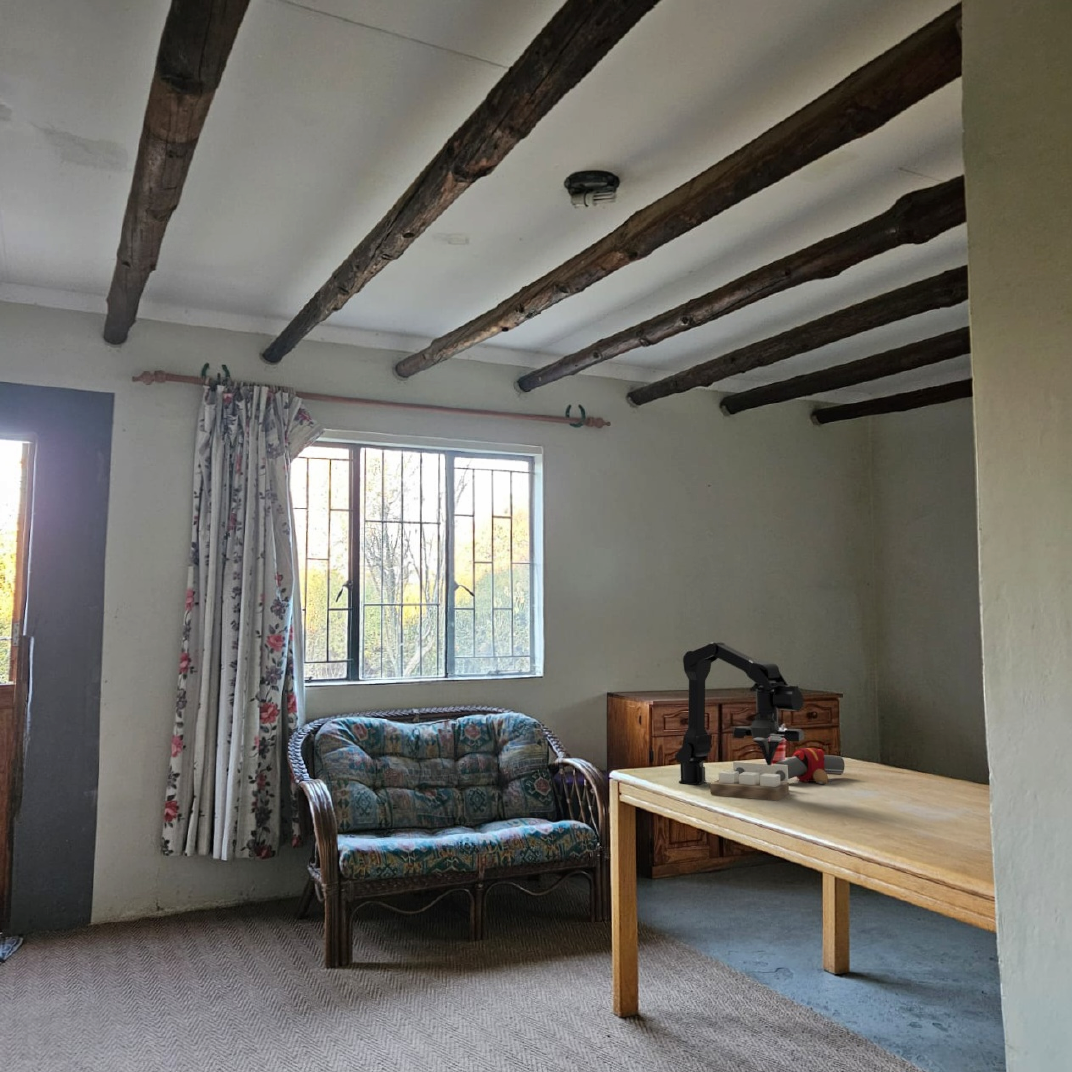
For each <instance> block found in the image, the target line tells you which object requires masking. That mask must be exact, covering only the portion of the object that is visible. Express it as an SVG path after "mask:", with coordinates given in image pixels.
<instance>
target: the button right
mask: <svg viewBox="0 0 1072 1072" xmlns="http://www.w3.org/2000/svg"><path fill="white" fill-rule="evenodd" d="M779 785H781V783H780V775H779V774H763V775H761V776H760V786H770V787H778V786H779Z"/></svg>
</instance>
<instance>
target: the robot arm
mask: <svg viewBox="0 0 1072 1072" xmlns="http://www.w3.org/2000/svg"><path fill="white" fill-rule="evenodd" d="M718 659H719V660H721V661H723V662H725V663H727V664H729V665H731V666H732V667H734V668H737V669H738V670H740V671H742V672H744V674H746V676H747V677H748V678H749V679H750V680H751V681H752V682H754V684H753V686H751V687H750V688H748V689H749V692H752V693H755V698H756V699H755V700H756V701H755V702H756V712H755V718H754V721H752V722H751V725H750V726H749V725H747V726H745V725H740V726H736V727H734V728H733V730H732V738H733V739H745V738H746V737H752V738H753V739H752V742H753V743H756V744H757V745H758V747H759V748H760V750H761V752H762V755H763V758H764V759H765V764H767V765H771V764H773V761H774V758H775V755H776V752H777V749H778V747H779V745H780V743H783V742H784V741H785V740H786V741H787V742H798V743H799V742H801V741H804V740H805V732H804V731H803V729H801V728H787V729H785V730H780V725H779V715H780V713H779V711H778V710H781V711H791V712H792V711H794V712H799V711H800V710H802V708H803V707H804V699H805V698H804V697H803V693H802V692H801V691H800V690H799V685H789V684H788V682H787V681H786V680H785V679H784V677H783V675H782V674H781V672H780V670H779V669H780V668H779V666H778V665H777V664H775V663H772V662H769V661H765V660H762V659H761V660H760V659H755V658H753V657H751V656H748V655H747V654H744V653H742V652H740V651H738V650H736V649H735V648H732V646H731V647H730V646H729V645H726V644H725V642H722V641H718V642H717V641H716V642H715V641H714V642H713V641H712V642H710V643H708V644H707V645H705V646H702V647H700V648H697V649H694V650H688V651H686V653H685V654H683V657H682V663H683V671H684V673H685V675H686V677H687V680H688V712H687V713H688V718H687V720H688V723H687V725H688V726H687V729H686V731H685V733H684V735H683V739H682V744H681V747H680V749H679V750H678V751H677V753H675V754H674V757H675V760H676V763H679V765H680V766H679V767H680V780H678V783H679V784H688V785H700V784H703V783H705V782H706V781H707V779H706V767H705V766H704V762H707V760H708V757H709V755H710V753H711V749H712V748H713V744H712V740H713V736H712V735H713V734H711V733H708V731H707V729H706V680H707V679H708V675H709V674H710V672H711V668H712V663H714V662H716V661H718ZM784 739H785V740H784Z"/></svg>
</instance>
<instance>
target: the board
mask: <svg viewBox="0 0 1072 1072" xmlns="http://www.w3.org/2000/svg"><path fill="white" fill-rule="evenodd" d="M759 782H760V780H759ZM780 783H781V785H779V786H778V787H770V786H760V783H759V784H757V785H746V784H739V782H737V783H735V784H733V783H721V782H719V779H718V780H715V781H714V782H711V783H710V786H709V787H710V795H712V796H723V797H724V796H725V797H732V798H733V797H735V798H747V799H756V800H757V799H758V800H768V801H770V800H771V801H779V800H781V799H782V798H784V797H786V796H787V795H788V794H790V789H789V788H790V785H789V783H790V782H789V781H788V782H780Z"/></svg>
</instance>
